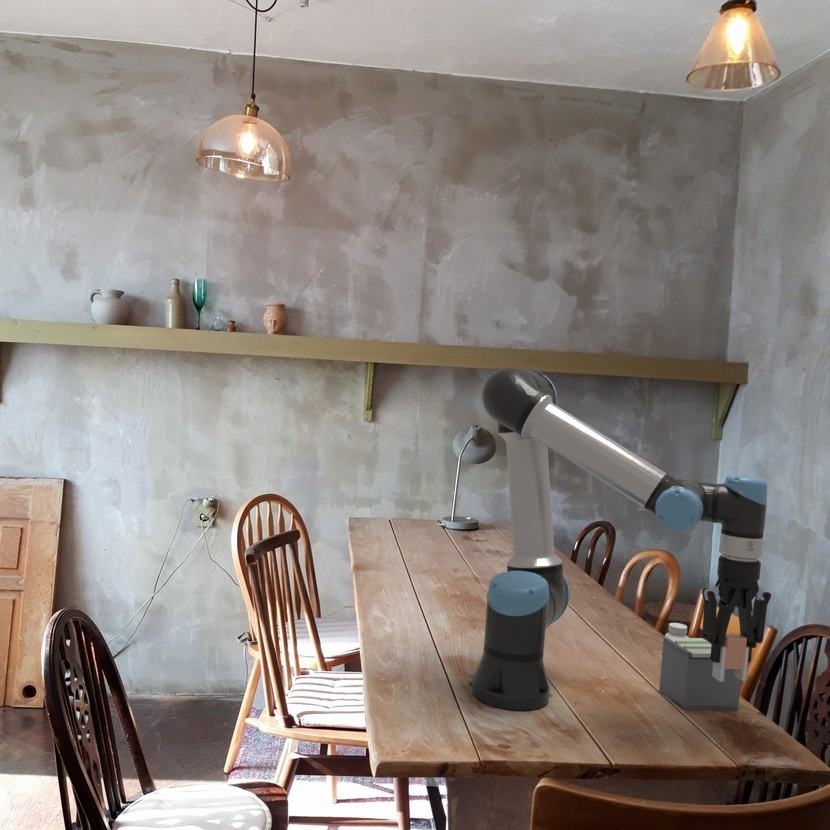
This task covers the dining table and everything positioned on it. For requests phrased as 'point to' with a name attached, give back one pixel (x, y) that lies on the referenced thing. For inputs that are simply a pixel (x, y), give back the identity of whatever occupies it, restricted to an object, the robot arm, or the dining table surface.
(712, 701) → the tub
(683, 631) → the pill bottle
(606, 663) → the dining table surface
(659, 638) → the dining table surface
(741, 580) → the robot arm
